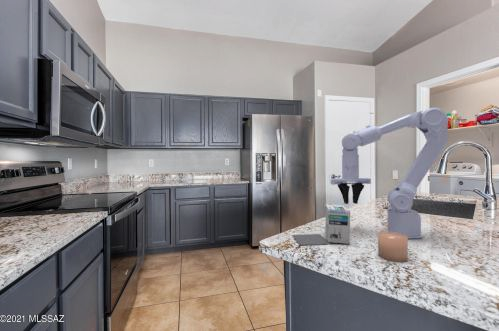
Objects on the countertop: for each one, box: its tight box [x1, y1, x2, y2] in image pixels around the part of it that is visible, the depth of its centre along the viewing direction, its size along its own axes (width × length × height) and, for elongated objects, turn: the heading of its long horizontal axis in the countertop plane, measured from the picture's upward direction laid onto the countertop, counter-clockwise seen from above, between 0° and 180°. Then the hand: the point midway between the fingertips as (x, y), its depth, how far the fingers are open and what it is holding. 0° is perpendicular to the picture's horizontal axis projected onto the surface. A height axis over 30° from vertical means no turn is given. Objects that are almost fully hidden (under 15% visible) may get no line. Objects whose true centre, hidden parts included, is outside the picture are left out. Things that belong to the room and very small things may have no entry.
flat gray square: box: [291, 233, 332, 247], centre depth 81 cm, size 10×10×1 cm
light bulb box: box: [324, 203, 351, 245], centre depth 82 cm, size 11×7×11 cm, turn 168°
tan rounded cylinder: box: [377, 231, 409, 263], centre depth 67 cm, size 7×7×6 cm
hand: (350, 203), depth 90 cm, fingers open, 3 cm apart
